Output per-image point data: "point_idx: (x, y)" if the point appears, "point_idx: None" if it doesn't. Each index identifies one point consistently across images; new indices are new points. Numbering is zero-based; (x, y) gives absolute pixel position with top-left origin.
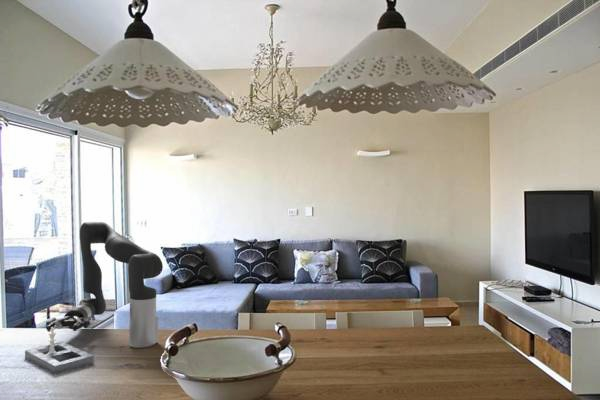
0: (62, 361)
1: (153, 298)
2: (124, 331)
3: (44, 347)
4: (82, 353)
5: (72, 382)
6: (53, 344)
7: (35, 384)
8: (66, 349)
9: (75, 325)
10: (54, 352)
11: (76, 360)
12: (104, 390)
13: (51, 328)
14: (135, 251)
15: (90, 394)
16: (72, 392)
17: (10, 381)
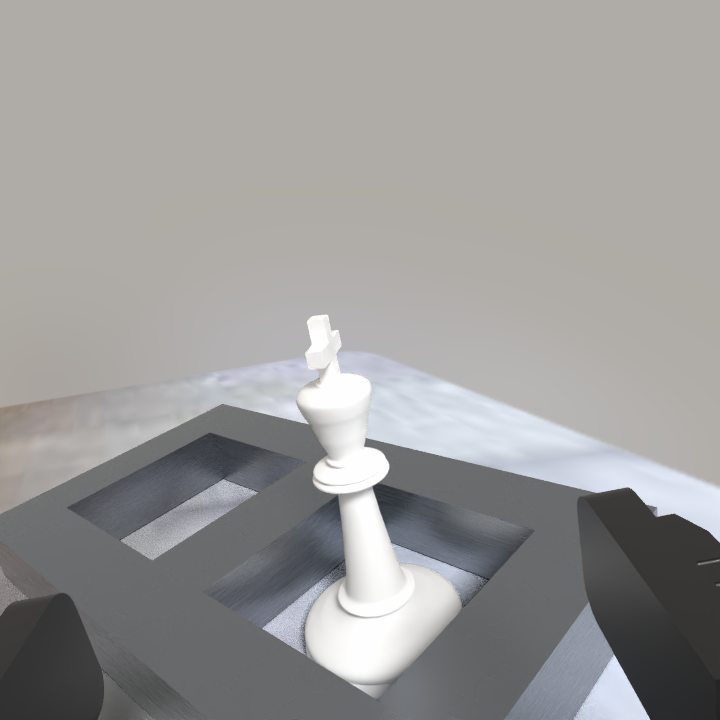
0: (194, 438)
1: None
2: None
3: (506, 597)
4: (60, 537)
5: (137, 422)
6: (342, 512)
7: (288, 391)
8: (221, 608)
9: (17, 611)
10: (342, 582)
11: (109, 462)
12: (22, 414)
13: (327, 327)
14: None
15: (73, 395)
16: (132, 390)
17: (416, 382)
